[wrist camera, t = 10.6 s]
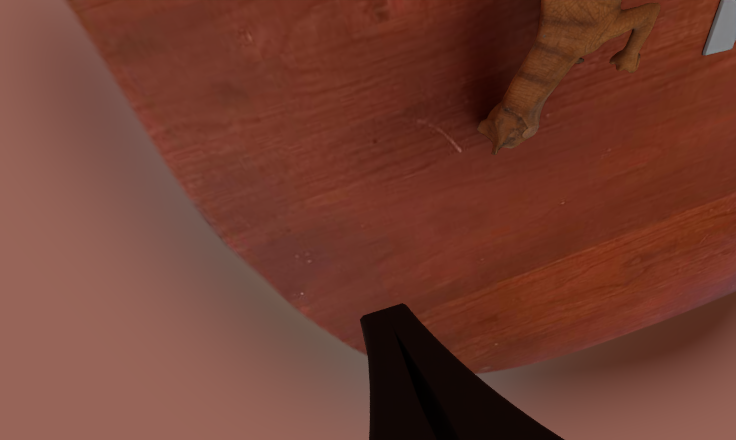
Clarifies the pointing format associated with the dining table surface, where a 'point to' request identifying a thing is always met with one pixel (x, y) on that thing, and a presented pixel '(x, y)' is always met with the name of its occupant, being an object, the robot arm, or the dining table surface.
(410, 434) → the robot arm
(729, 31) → the tape line
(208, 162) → the dining table surface
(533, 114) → the dinosaur figurine
